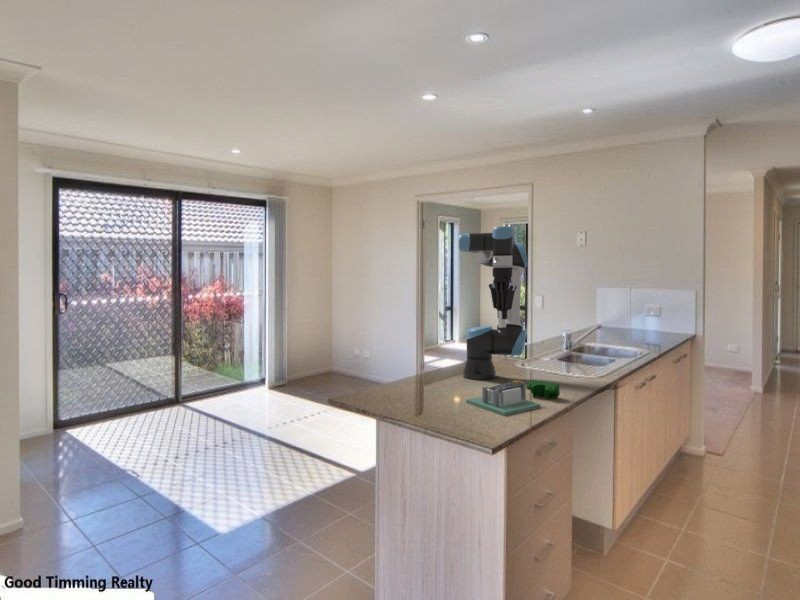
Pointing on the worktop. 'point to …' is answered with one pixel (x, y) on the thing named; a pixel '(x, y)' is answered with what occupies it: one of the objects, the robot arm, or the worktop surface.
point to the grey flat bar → (507, 386)
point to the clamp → (543, 389)
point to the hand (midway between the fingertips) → (502, 327)
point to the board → (504, 408)
